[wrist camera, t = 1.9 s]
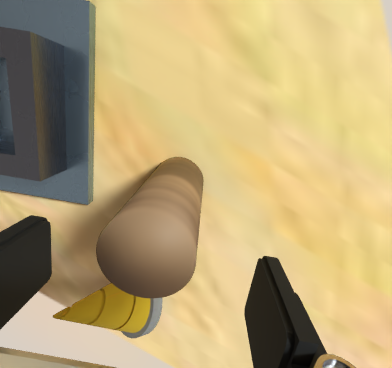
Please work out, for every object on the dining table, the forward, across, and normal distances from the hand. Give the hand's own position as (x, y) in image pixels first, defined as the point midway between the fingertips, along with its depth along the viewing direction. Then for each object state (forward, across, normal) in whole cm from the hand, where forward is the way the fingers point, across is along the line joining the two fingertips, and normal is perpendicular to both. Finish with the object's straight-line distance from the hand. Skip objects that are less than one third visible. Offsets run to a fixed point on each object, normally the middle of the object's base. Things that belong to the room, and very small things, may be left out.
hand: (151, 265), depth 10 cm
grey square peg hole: (+9, +13, -5) cm, 17 cm away
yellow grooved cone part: (+10, +3, +9) cm, 14 cm away
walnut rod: (+9, 0, -1) cm, 9 cm away
